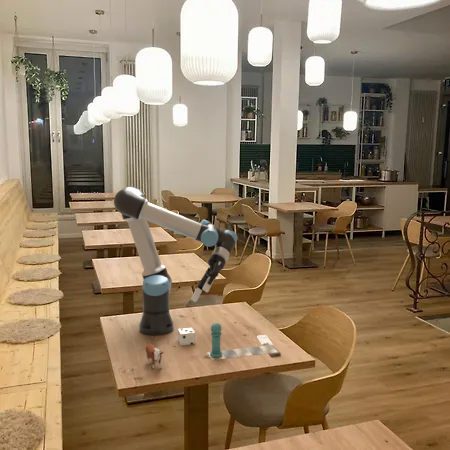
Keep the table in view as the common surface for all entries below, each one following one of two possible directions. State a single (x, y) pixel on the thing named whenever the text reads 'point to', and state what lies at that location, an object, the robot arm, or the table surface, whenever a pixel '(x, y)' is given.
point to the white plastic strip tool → (264, 340)
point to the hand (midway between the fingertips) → (198, 295)
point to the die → (186, 336)
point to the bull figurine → (153, 355)
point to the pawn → (216, 340)
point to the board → (244, 352)
